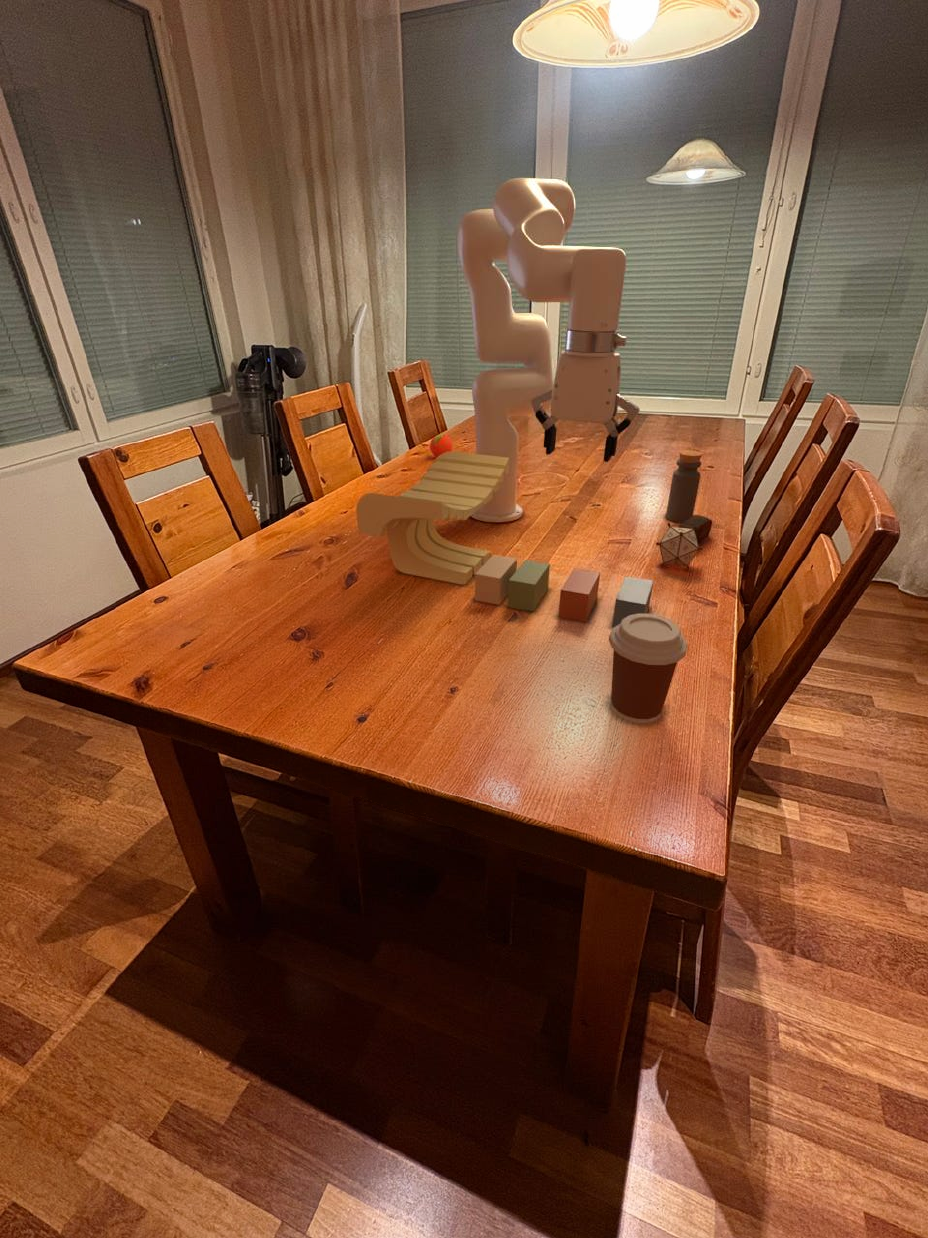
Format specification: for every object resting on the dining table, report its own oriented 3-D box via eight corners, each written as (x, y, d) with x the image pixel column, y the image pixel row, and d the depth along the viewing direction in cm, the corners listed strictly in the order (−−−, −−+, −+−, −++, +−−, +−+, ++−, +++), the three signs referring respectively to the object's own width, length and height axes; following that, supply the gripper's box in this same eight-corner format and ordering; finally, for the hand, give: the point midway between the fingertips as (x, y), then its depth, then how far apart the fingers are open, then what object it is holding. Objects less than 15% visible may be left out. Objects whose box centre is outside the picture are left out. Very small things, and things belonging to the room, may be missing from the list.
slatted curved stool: (437, 531, 131) (435, 449, 123) (506, 543, 126) (509, 457, 117) (363, 587, 107) (354, 490, 99) (443, 605, 102) (442, 503, 93)
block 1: (474, 600, 103) (474, 573, 101) (492, 579, 111) (493, 554, 108) (499, 605, 102) (500, 578, 99) (515, 583, 109) (517, 558, 107)
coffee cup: (688, 714, 76) (707, 633, 70) (637, 739, 72) (652, 655, 66) (635, 679, 83) (648, 602, 77) (585, 700, 79) (595, 620, 73)
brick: (691, 551, 122) (695, 529, 120) (672, 546, 124) (676, 525, 122) (709, 537, 129) (714, 516, 127) (691, 532, 131) (696, 511, 129)
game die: (678, 580, 119) (714, 540, 116) (679, 583, 111) (718, 540, 108) (642, 551, 120) (677, 511, 117) (641, 552, 112) (678, 509, 109)
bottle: (693, 516, 141) (706, 451, 133) (690, 524, 136) (703, 457, 129) (667, 512, 143) (678, 448, 135) (663, 520, 138) (675, 454, 131)
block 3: (611, 627, 95) (615, 599, 93) (621, 602, 103) (625, 576, 100) (640, 632, 94) (645, 604, 92) (648, 607, 101) (653, 580, 99)
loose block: (558, 616, 98) (560, 589, 96) (571, 593, 106) (574, 567, 103) (585, 622, 97) (588, 594, 94) (597, 598, 104) (600, 572, 102)
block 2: (507, 606, 101) (508, 579, 99) (523, 585, 109) (525, 559, 106) (533, 611, 100) (534, 584, 97) (548, 589, 107) (550, 563, 105)
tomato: (444, 462, 181) (444, 438, 178) (424, 460, 184) (423, 436, 180) (456, 456, 187) (456, 433, 184) (436, 454, 190) (436, 430, 186)
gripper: (652, 343, 91) (635, 456, 100) (542, 337, 97) (535, 444, 106) (645, 349, 85) (626, 468, 94) (528, 342, 91) (521, 455, 100)
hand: (578, 456), depth 100 cm, fingers open, 9 cm apart
